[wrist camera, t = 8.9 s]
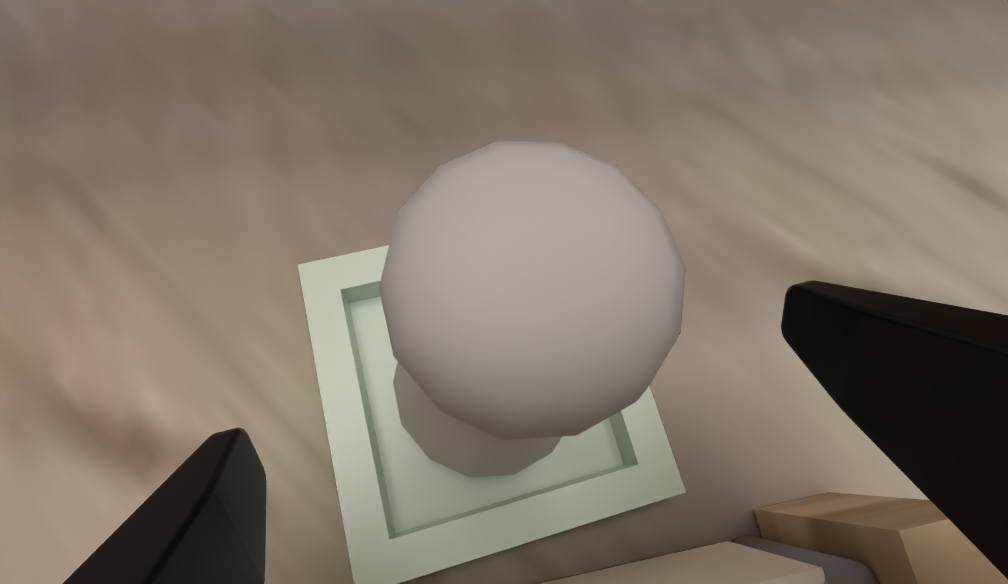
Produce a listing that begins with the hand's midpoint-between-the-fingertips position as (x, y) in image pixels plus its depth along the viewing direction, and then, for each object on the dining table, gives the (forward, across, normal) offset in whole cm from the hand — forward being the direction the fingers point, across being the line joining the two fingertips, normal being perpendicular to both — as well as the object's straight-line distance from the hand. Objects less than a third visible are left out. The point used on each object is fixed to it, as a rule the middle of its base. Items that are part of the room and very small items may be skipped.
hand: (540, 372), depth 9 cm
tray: (+9, 0, +7) cm, 11 cm away
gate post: (+3, -10, +13) cm, 16 cm away
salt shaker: (+8, 0, +7) cm, 11 cm away
